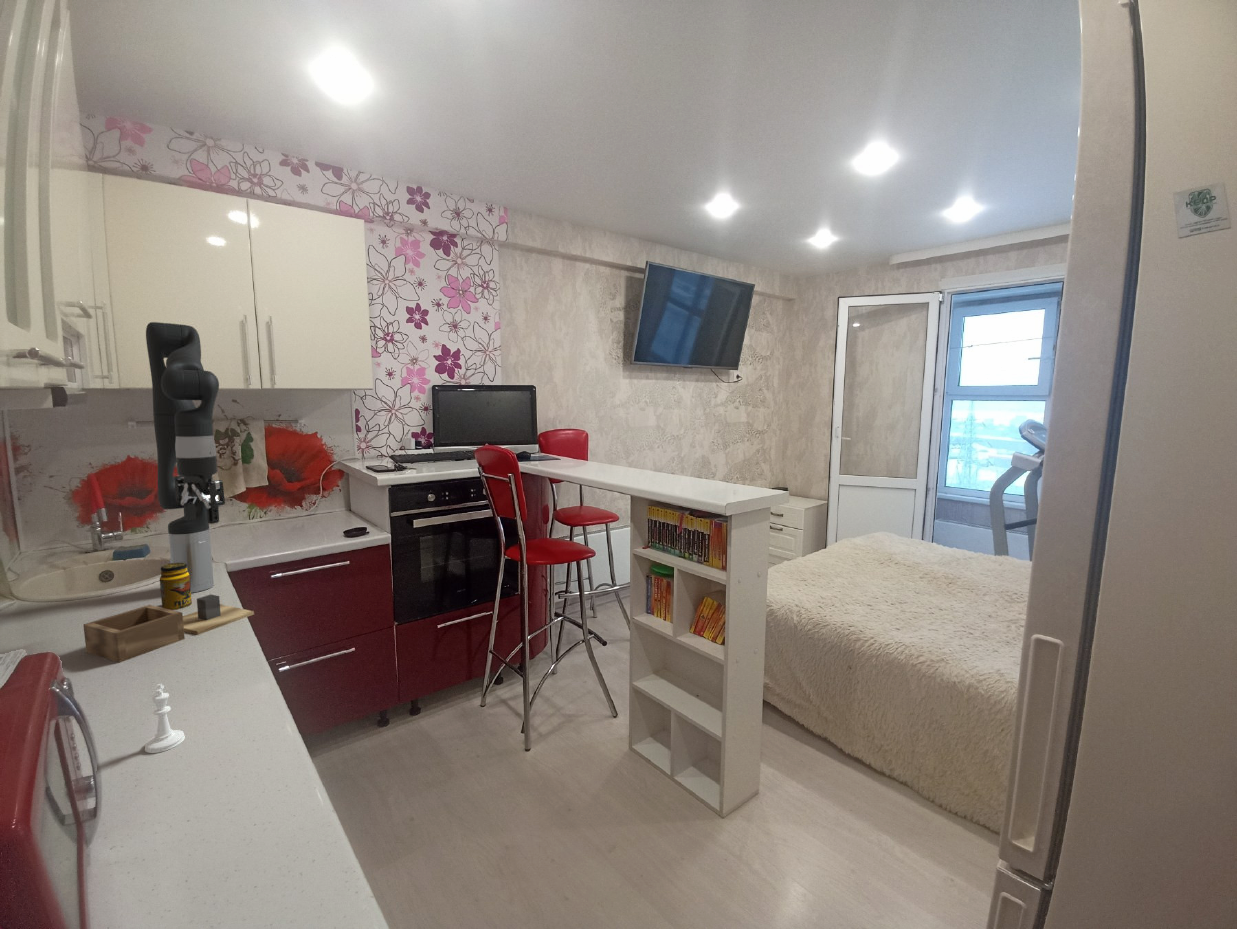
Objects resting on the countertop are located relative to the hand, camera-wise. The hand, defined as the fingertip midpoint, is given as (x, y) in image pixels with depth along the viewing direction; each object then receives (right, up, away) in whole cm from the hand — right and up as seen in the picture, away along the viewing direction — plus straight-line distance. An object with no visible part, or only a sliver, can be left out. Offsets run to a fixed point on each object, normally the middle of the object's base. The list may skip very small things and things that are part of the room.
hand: (201, 521), depth 128 cm
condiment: (-16, -25, +11) cm, 32 cm away
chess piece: (+28, -31, -43) cm, 60 cm away
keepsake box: (-6, -27, -11) cm, 30 cm away
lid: (0, -25, +3) cm, 25 cm away
